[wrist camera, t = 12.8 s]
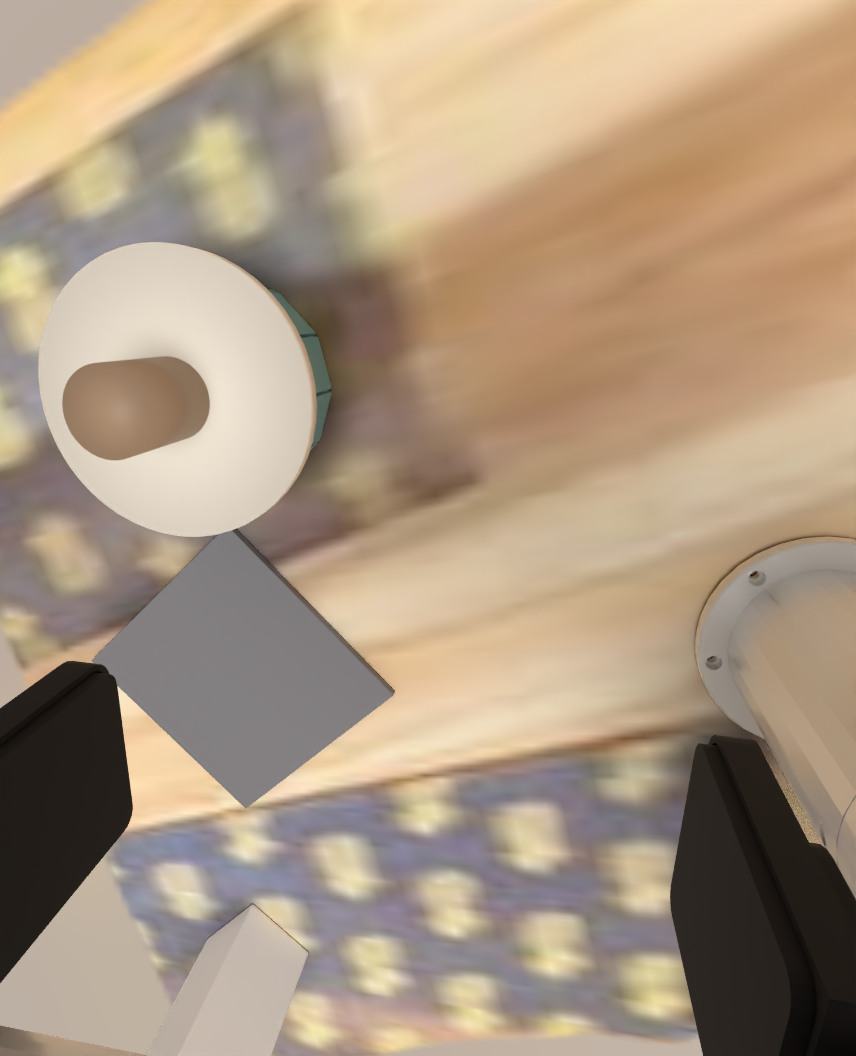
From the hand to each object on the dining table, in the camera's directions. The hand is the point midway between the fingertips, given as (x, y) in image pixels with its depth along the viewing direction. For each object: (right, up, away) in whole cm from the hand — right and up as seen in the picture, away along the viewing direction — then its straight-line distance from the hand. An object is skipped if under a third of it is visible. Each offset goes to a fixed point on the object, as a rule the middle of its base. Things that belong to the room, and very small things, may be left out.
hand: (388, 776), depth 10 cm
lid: (-12, +10, +22) cm, 27 cm away
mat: (-12, -6, +34) cm, 37 cm away
